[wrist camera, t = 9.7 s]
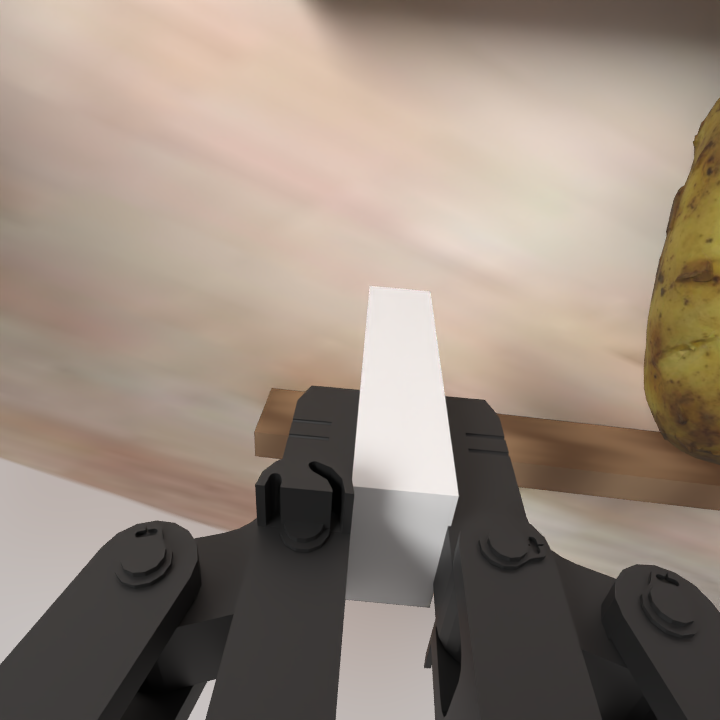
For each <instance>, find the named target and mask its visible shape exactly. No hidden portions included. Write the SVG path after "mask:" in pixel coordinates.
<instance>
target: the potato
mask: <svg viewBox="0 0 720 720" xmlns="http://www.w3.org/2000/svg"><path fill="white" fill-rule="evenodd" d="M693 145H694V161H693V164H692V167H691V171H690V174H689V176H688V178H687V181H686V183H685V186H683V187H681V188H680V189H679V190H678V192H677V194H676V196H675V198H674V201H673V205H672V209H671V213H670V217H669V222H668V226H667V231H666V234H667V237H666V240H665V244H664V247H663V251H662V254H661V257H660V259H659V265H658V269H657V273H656V279H655V284H654V289H653V294H652V299H651V305H650V310H649V316H648V324H647V335H646V351H645V359H644V390H645V395H646V400H647V402H648V405H649V407H650V410H651V413H652V415H653V417H654V420H655V421H656V423H657V426H658V428H659V430H660V432H661V434H662V436H663V438H664V440H668V441H669V442H670V443H671V444H672V445H674V446H675V447H676V448H678V449H679V450H680V451H682V452H684V453H686V454H688V455H690V456H692V457H694V458H697V459H700V460H704V461H707V462H711V463H714V464H718V465H720V98H719V99H718V100H717V101H716V103H715V105H714V106H713V108H712V109H711V111H710V112H709V114H708V115H707V117H706V118H705V120H704V121H703V122H702V123H701V125H700V128H699V131H698V134H697V135H696V136H695V140H694V141H693Z"/></svg>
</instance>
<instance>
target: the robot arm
mask: <svg viewBox="0 0 720 720" xmlns="http://www.w3.org/2000/svg"><path fill="white" fill-rule="evenodd" d="M504 437H505V436H504V432H503V429H502V425H501V421H500V418H499V416H498V415H497V414H496V413H495V412H494V410H493V409H492V408H491V407H490V406H489V404H488V403H487V402H486V401H485V400H479V399H468V398H458V397H447V396H445V393H444V386H443V379H442V372H441V364H440V357H439V350H438V343H437V336H436V328H435V321H434V314H433V307H432V300H431V292H430V291H421V290H410V289H399V288H388V287H378V286H370V289H369V299H368V310H367V321H366V332H365V342H364V353H363V364H362V375H361V386H360V390H354V389H343V388H332V387H321V386H311V387H310V388H309V389H308V390H307V391H306V392H305V393H304V394H303V395H302V396H301V397H300V398H299V399H298V400H297V404H296V408H295V412H294V416H293V421H292V423H291V427H290V431H289V437H288V439H287V443H286V447H285V451H284V455H283V459H281V460H278V461H276V462H275V463H273V464H272V465H271V466H269V467H268V468H267V469H265V470H264V471H263V472H262V474H261V476H260V477H259V479H258V481H257V483H256V484H255V488H256V507H257V518H256V519H255V520H254V521H252V522H251V523H249V524H247V525H245V526H243V527H241V528H239V529H236V530H233V531H229V532H226V533H222V534H216V535H211V536H206V537H200V538H195V539H194V538H193V537H192V535H191V534H190V532H189V531H188V530H186V529H184V528H183V527H181V526H179V525H177V524H176V523H171V522H163V521H153V522H146V523H141V524H136V525H135V526H132V527H130V528H128V529H126V530H124V531H122V532H119V533H118V534H116V535H115V536H114V537H113V538H112V539H111V540H109V541H108V542H107V543H106V544H105V545H104V546H103V547H102V548H101V549H100V550H99V551H98V552H97V553H96V554H95V556H94V557H93V558H92V559H91V560H90V561H89V563H88V564H87V565H86V566H85V567H84V568H83V569H82V571H81V572H80V573H79V574H78V576H76V578H75V579H74V580H73V581H72V582H71V583H70V584H69V586H68V587H67V588H66V589H65V590H64V592H63V593H62V594H61V595H60V596H59V597H58V598H57V600H56V601H55V602H54V603H53V604H52V605H51V607H50V608H49V609H48V610H47V611H46V613H45V614H44V615H43V616H42V617H41V618H40V619H39V620H38V622H37V623H36V624H35V625H34V626H33V627H32V629H31V630H30V631H29V632H28V633H27V634H26V636H25V637H24V638H23V639H22V640H21V641H20V642H19V643H18V645H17V646H16V647H15V648H14V649H13V651H12V652H11V653H10V654H9V655H8V656H7V657H6V659H5V660H4V661H3V662H2V663H1V665H0V720H187V719H188V718H189V715H190V714H191V712H192V710H193V708H194V706H195V704H196V702H197V700H198V698H199V696H200V694H201V692H202V690H203V688H204V686H205V685H206V683H207V681H210V680H214V679H216V682H215V686H214V690H213V693H212V697H211V701H210V705H209V708H208V712H207V716H206V719H205V720H335V719H336V706H337V694H338V693H337V692H338V682H339V669H340V656H341V645H342V632H343V619H344V607H345V600H354V601H365V602H375V603H386V604H396V605H407V606H417V607H428V608H429V607H430V604H431V600H432V597H433V593H434V603H435V617H436V619H435V623H434V627H433V630H432V634H431V638H430V641H429V645H428V649H427V652H426V657H425V664H424V668H431V665H432V671H433V689H434V705H435V720H720V612H719V611H718V610H717V608H716V607H715V606H714V605H713V603H712V602H711V601H710V600H709V599H708V598H707V597H706V596H705V595H704V594H703V593H702V592H701V591H700V590H699V589H698V588H697V587H696V586H695V585H693V584H692V583H690V582H689V581H687V580H685V579H684V578H682V577H681V576H679V575H678V574H676V573H674V572H671V571H669V570H666V569H663V568H660V567H658V566H655V565H638V564H637V565H634V566H631V567H629V568H626V569H624V570H622V572H621V573H620V575H619V576H618V578H617V579H615V578H612V577H609V576H607V575H604V574H601V573H599V572H596V571H593V570H591V569H588V568H585V567H583V566H580V565H577V564H575V563H573V562H571V561H569V560H566V559H564V558H562V557H561V556H559V555H558V554H556V553H555V552H553V551H552V550H551V549H550V547H549V545H548V543H547V541H546V540H545V538H544V537H543V536H542V535H541V534H540V533H539V532H538V531H537V530H536V529H535V528H534V527H533V526H532V525H531V524H529V522H528V520H527V517H526V514H525V510H524V506H523V503H522V499H521V495H520V492H519V488H518V484H517V481H516V477H515V473H514V469H513V466H512V462H511V458H510V456H509V451H508V447H507V444H506V440H504Z"/></svg>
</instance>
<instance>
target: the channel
mask: <svg viewBox="0 0 720 720" xmlns="http://www.w3.org/2000/svg"><path fill="white" fill-rule="evenodd" d="M304 393H305V392H300V391H292V390H283V389H274V388H272V389H271V391H270V394H269V396H268V399H267V401H266V404H265V406H264V409H263V411H262V414H261V417H260V419H259V422H258V424H257V427H256V429H255V432H254V435H255V456H259V457H268V458H276V459H283V455H284V451H285V447H286V443H287V439H288V437H289V431H290V427H291V423H292V421H293V416H294V412H295V408H296V404H297V400H298V399H299V398H300V397H301V396H302V395H303V394H304ZM497 415H498V416H499V418H500V421H501V425H502V429H503V432H504V436H505V437H504V440H506V444H507V447H508V451H509V456H510V458H511V462H512V466H513V469H514V473H515V477H516V481H517V484H518V487H524V488H532V489H541V490H549V491H558V492H566V493H575V494H583V495H592V496H600V497H609V498H617V499H626V500H634V501H643V502H651V503H660V504H668V505H677V506H685V507H694V508H703V509H711V510H720V465H718V464H714V463H711V462H707V461H704V460H700V459H697V458H694V457H692V456H690V455H688V454H686V453H684V452H682V451H680V450H679V449H678V448H676V447H675V446H674V445H672V444H671V443H670V442H669V441H668V440H664V438H663V436H662V434H661V432H653V431H645V430H636V429H627V428H618V427H609V426H600V425H592V424H583V423H574V422H565V421H556V420H548V419H539V418H530V417H521V416H512V415H503V414H497Z"/></svg>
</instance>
